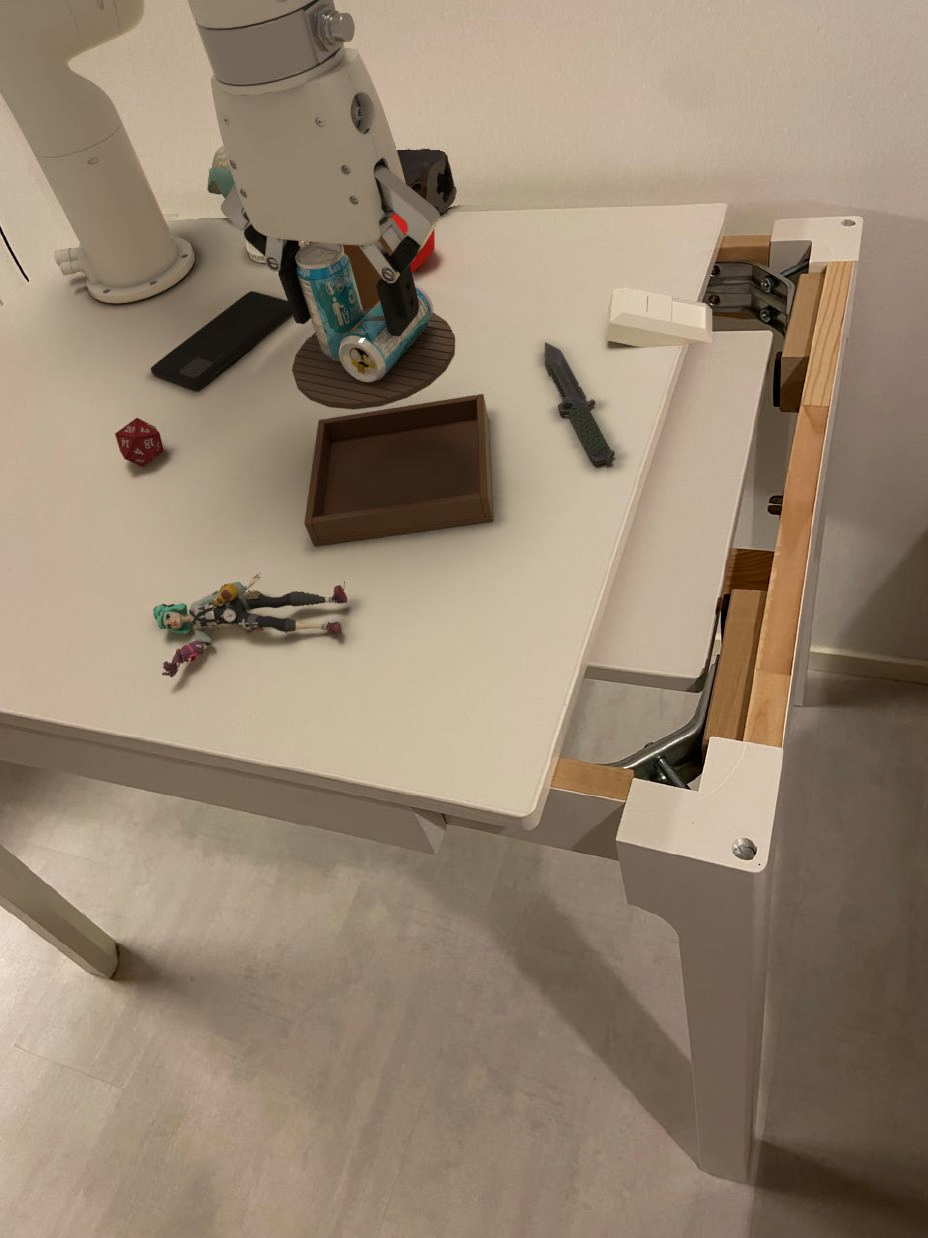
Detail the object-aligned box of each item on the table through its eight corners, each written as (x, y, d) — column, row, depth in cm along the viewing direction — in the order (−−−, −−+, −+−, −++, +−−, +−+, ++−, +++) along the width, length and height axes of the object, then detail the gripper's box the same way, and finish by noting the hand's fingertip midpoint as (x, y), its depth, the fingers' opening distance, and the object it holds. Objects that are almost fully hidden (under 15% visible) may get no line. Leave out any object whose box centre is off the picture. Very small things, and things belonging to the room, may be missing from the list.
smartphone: (251, 294, 101) (149, 374, 94) (248, 287, 100) (146, 367, 93) (301, 308, 97) (199, 392, 90) (298, 300, 96) (196, 385, 90)
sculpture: (351, 250, 96) (272, 222, 102) (369, 296, 101) (292, 267, 106) (471, 129, 102) (390, 109, 108) (481, 178, 107) (404, 156, 113)
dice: (118, 472, 85) (97, 437, 82) (148, 440, 87) (129, 405, 84) (150, 479, 83) (130, 444, 80) (180, 447, 85) (161, 411, 82)
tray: (313, 546, 74) (304, 523, 72) (326, 442, 82) (318, 419, 80) (493, 521, 72) (487, 496, 70) (488, 417, 80) (483, 393, 78)
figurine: (140, 678, 65) (165, 696, 68) (342, 616, 64) (358, 638, 67) (135, 590, 68) (159, 611, 72) (327, 530, 67) (342, 554, 70)
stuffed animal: (242, 240, 121) (199, 220, 109) (222, 185, 120) (177, 158, 108) (317, 208, 118) (281, 183, 107) (297, 150, 117) (259, 119, 106)
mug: (344, 366, 89) (314, 275, 82) (288, 348, 93) (255, 260, 86) (422, 298, 94) (400, 207, 87) (366, 284, 98) (341, 195, 91)
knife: (625, 453, 73) (587, 464, 73) (625, 461, 73) (588, 472, 73) (558, 333, 85) (526, 342, 85) (559, 341, 85) (528, 350, 85)
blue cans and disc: (349, 301, 74) (322, 202, 68) (484, 322, 69) (468, 217, 63) (261, 392, 68) (222, 292, 62) (403, 423, 63) (375, 317, 57)
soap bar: (608, 307, 86) (615, 281, 83) (705, 326, 86) (715, 301, 83) (604, 339, 83) (612, 314, 80) (705, 360, 83) (715, 334, 80)
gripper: (439, 7, 51) (491, 300, 64) (192, 16, 58) (285, 278, 71) (372, 67, 47) (442, 366, 60) (116, 69, 54) (229, 336, 67)
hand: (356, 316), depth 66 cm, fingers closed on blue cans and disc, 7 cm apart
